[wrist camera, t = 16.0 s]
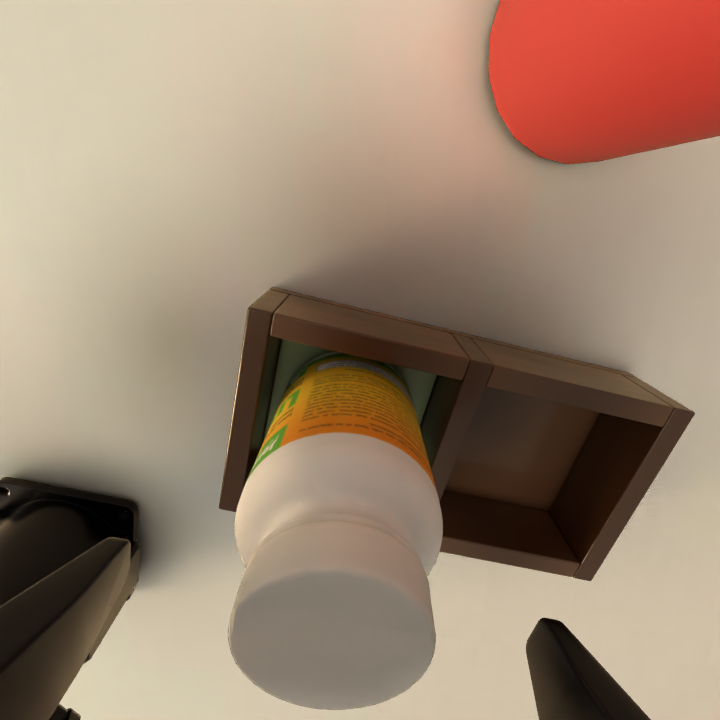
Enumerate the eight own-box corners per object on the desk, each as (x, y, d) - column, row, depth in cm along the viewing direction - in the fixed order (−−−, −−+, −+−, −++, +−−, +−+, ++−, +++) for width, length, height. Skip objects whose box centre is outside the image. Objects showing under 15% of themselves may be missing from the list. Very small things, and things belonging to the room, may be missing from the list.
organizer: (243, 456, 18) (217, 509, 15) (271, 286, 15) (247, 306, 12) (552, 519, 19) (591, 581, 16) (630, 373, 17) (696, 412, 13)
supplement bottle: (291, 336, 15) (188, 517, 6) (425, 358, 16) (512, 561, 7) (278, 452, 17) (184, 719, 8) (398, 469, 18) (436, 746, 8)
